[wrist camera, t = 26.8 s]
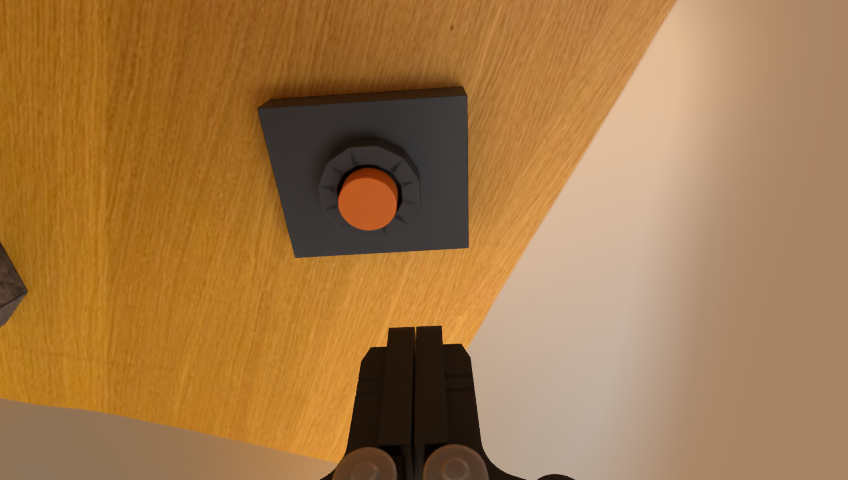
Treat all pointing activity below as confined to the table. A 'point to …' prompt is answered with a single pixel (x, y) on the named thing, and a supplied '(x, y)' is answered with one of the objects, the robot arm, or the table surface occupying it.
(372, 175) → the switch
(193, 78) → the table surface
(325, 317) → the table surface
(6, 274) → the mug
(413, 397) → the robot arm
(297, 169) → the button base
